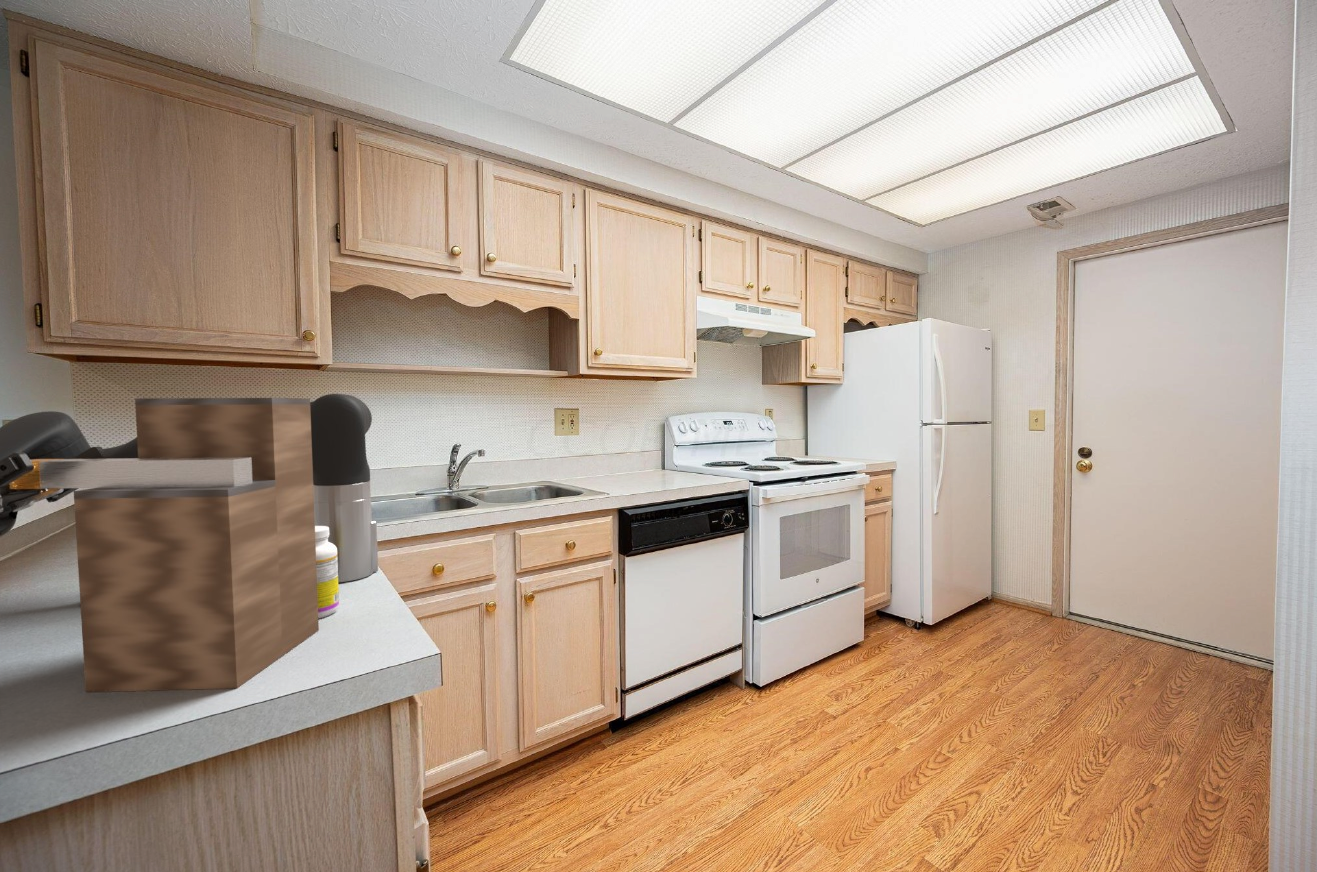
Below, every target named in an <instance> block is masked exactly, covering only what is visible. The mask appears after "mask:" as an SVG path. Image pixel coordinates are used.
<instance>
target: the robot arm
mask: <svg viewBox="0 0 1317 872" xmlns="http://www.w3.org/2000/svg"><path fill="white" fill-rule="evenodd" d="M310 412H311V439H312V465H313V491H314V518H315V526H327V527H329V534H330V535H329V537H328V542H330V543H332V544H334V545H335V546H336V548H337V557H338V583H345V582H351V581H355V580H360V579H364V578H366V577H368V576H370V575H372V574H374V573H375V572H378V571H379V558H378V557H379V556H378V553H379V552H378V530H377V528H378V526H377V521H376V520H373V518H372V497H371V495H372V493H371V468H370V465H369V463H368V458H367V447H366V446H367V445H366V443H367V442H366V434H367V433H368V432H369V430H370V428H371V426H372V422H373V421H372V420H373V415H372V412H371V409H370V408H369V407H368V405H367V403H365V402H363V400H361V399H359V398H357V397H356V396H354V395H351V394H345V393H343V394H342V393H328V394H324V395H322V396H320V397H318V398H316V399H314V400H313V401H310ZM125 458H138V445H137V436H136V437H135V438H133V439H131V440H130V441H128V442H126V443H124V444H120V445H116V446H113V447H107V448H103V447H102V446H92V447H91V445H90V444H89V442H88V440H87V438H86V437H85V435H84V433H83V432H82V430H81V429H80V427H79V426H78V424H77V423H76V422H75V420H74V419H73V418H72V417H71V416H69V415H68V414H67V413H65V412H62V411H61V412H60V411H56V410H55V411H54V410H53V411H52V410H50V411H47V410H46V411H40V412H39V411H38V412H34V413H29V414H26V415H23V416H19V417H17V418H15V419H13V420H11V421H9V422H7V423H5V424H4V425H2V426H0V538H1V537H2V536H4V535H7V534H8V533H9V532H10V531H11V530H12V529H13V527H14V526H15V524H16V521H17V515H18V512H19V511H22V510H26V509H28V508H31V507H33V506H34V505H35V503H38V502H40V501H43V500H46V501H47V502H48V503H54V502H57V501H59V500H61V499H62V498H64V497H66V496H68V495H70V494H71V493H74V491H78V490H80V488H46V489H10V483H11V482H13V481H15V480H17V479H18V478H20V477H22V476H23V475H25V474H27V473H29V472H30V471H32V470H33V469H34V465H33V464H32V462H31V461H30V460H33V459H125Z"/></svg>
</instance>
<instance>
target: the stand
mask: <svg viewBox="0 0 1317 872" xmlns="http://www.w3.org/2000/svg"><path fill="white" fill-rule="evenodd" d="M310 402H311V398H298V397H297V398H296V397H294V398H293V397H289V398H288V397H286V398H285V397H203V398H202V397H197V398H196V397H195V398H194V397H191V398H190V397H185V398H182V397H180V398H179V397H178V398H177V397H175V398H174V397H173V398H172V397H171V398H169V397H167V398H164V397H163V398H161V397H159V398H157V397H156V398H155V397H153V398H152V397H151V398H144V397H143V398H135V399H134V404H135V407H134V409H135V422H136V423H135V424H136V437H137V445H138V458H232V457H251V460H252V482H253V483H249V484H244V485H239V486H221V487H133V488H84V489H78V490H75V491H73V502H74V503H73V505H74V517H75V518H74V519H75V534H76V535H75V536H76V550H77V570H78V571H77V572H78V585H79V588H78V589H79V601H80V602H79V603H80V619H81V621H80V622H81V633H82V634H81V636H82V651H83V654H82V655H83V666H84V667H83V668H84V684H85V685H84V686H85V693H98V692H99V693H100V692H101V693H103V692H105V693H106V692H135V691H136V692H138V691H139V692H142V691H144V692H145V691H177V690H179V691H181V690H218V689H219V690H220V689H222V690H223V689H238V688H240V687H241V686H242V685H244V684H246V682H249V680H251V679H252V678H254V677H255V676H256V675H258V674H259V673H261V672H262V671H263V670H265V669H266V668H268V667H269V666H271V665H272V664H274V663H275V662H277V661H278V660H279V659H280V658H282V657H283V656H285V655H287V654H288V653H289V652H291V651H292V650H294V649H295V648H297V647H298V646H300V644H302V643H304V641H306V640H308V639H309V638H310V637H313V635H314V634H316V633H318V632H319V630H320V629H319V628H320V627H319V624H320V623H319V619H318V596H317V570H316V544H315V518H314V491H313V465H312V439H311V412H310Z"/></svg>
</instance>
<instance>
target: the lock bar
mask: <svg viewBox="0 0 1317 872" xmlns="http://www.w3.org/2000/svg"><path fill="white" fill-rule="evenodd" d="M30 461H31V462H32V464H33V465H34V469H33V470H32V471H30V472H29V473H27V474H25V475H23V476H22V477H20V478H18V479H17V480H15V481H13V482H11V483H10V489H46V488H79V489H92V488H133V487H221V486H239V485H244V484H249V483H253V482H252V460H251V457H232V458H125V459H33V460H30Z"/></svg>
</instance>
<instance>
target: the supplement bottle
mask: <svg viewBox="0 0 1317 872" xmlns="http://www.w3.org/2000/svg"><path fill="white" fill-rule="evenodd" d="M329 535H330V534H329V527H327V526H315V544H316V570H317V596H318V620H319V619H323V618H326V617H328V616H331V615H332V614H334V613H335V612H337V611H338V610H339V607H340V595H339V594H340V593H339V582H338V557H337V548H336V546H335V545H334V544H332V543H330V542H328V537H329Z"/></svg>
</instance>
